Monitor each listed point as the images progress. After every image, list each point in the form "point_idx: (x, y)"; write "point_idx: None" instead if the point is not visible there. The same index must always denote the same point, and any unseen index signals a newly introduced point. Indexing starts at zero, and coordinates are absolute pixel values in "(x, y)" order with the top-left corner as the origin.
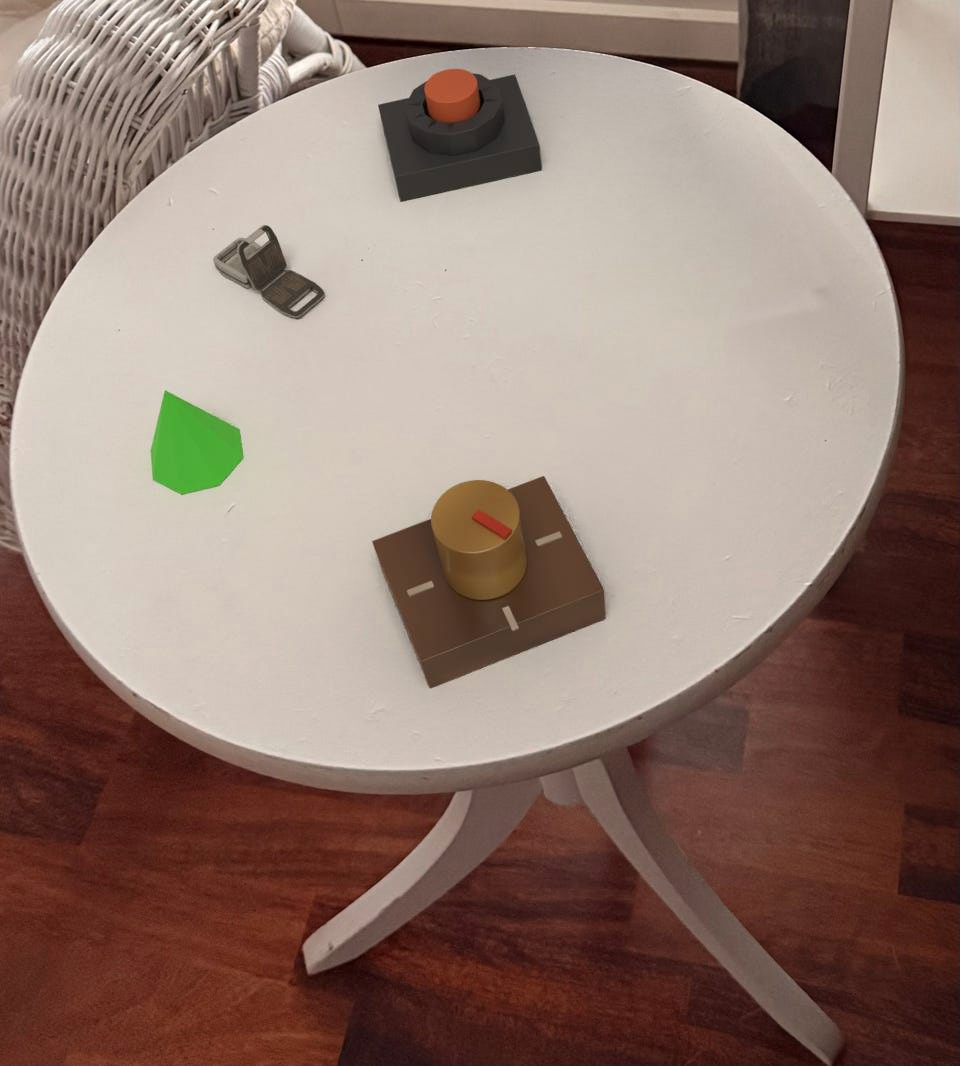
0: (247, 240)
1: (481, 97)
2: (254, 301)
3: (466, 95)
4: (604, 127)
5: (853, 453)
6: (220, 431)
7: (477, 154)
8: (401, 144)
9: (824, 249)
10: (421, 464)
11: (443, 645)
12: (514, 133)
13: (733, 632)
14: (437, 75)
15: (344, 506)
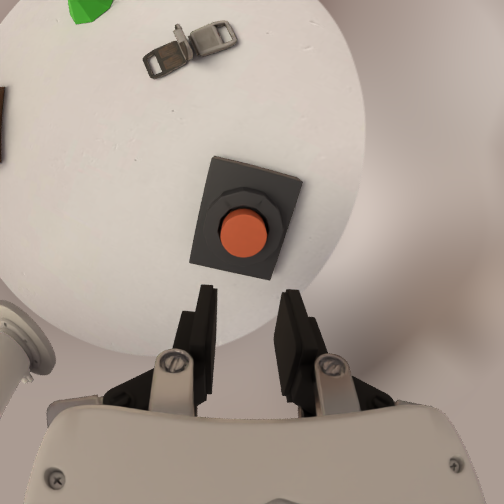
0: (176, 30)
1: None
2: None
3: (223, 242)
4: None
5: (6, 278)
6: (77, 12)
7: (201, 222)
8: (245, 177)
9: (88, 330)
10: (31, 110)
11: None
12: (209, 253)
13: None
14: (262, 232)
15: (31, 71)
